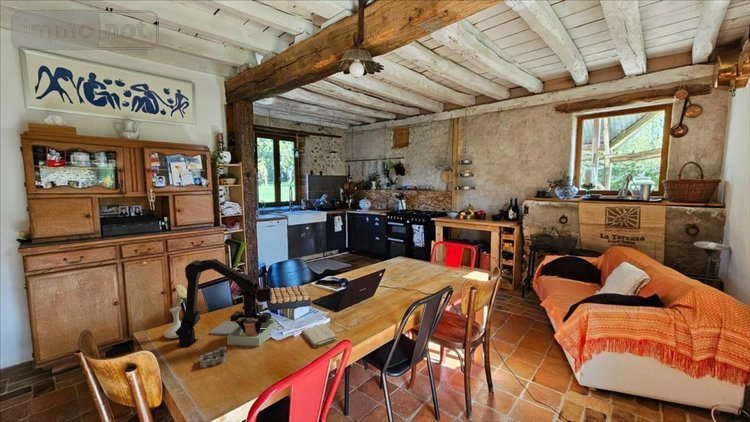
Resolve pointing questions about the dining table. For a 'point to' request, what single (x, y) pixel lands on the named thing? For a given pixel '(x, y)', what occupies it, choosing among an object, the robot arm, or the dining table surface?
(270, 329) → the frame
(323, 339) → the washcloth
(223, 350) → the egg carton
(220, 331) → the slate tile
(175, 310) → the flower in vase
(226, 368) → the dining table surface
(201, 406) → the dining table surface
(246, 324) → the terracotta pot
